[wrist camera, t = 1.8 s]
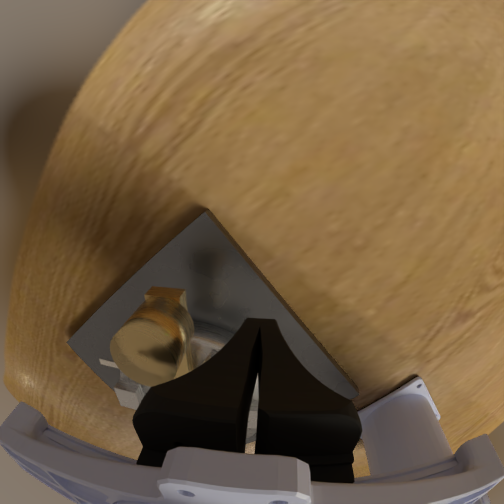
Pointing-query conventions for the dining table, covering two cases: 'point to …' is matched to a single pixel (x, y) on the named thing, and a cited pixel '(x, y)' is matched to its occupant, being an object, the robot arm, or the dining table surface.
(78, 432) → the dining table surface
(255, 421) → the metal round piece
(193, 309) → the dark grey square plate
